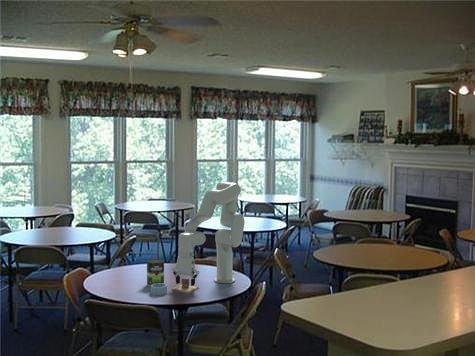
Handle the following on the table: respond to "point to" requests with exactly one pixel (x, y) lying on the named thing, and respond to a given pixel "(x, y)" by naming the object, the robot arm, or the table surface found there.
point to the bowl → (158, 289)
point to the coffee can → (155, 271)
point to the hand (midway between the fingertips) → (185, 284)
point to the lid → (185, 286)
